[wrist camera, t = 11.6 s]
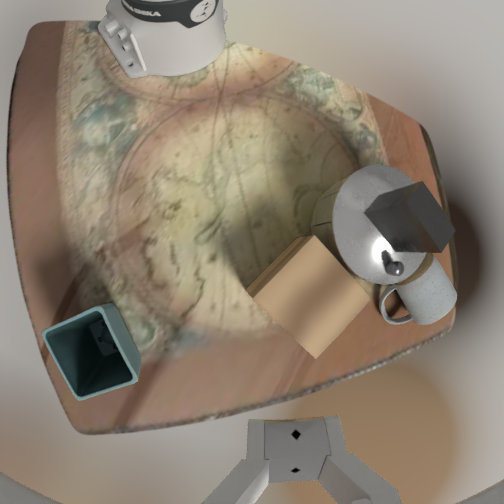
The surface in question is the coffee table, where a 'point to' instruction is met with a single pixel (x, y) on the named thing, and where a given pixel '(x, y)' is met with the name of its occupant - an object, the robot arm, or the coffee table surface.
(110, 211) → the coffee table surface
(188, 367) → the coffee table surface
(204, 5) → the robot arm
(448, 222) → the lid
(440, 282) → the ceramic mug
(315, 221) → the pot
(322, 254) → the tan block
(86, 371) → the flower pot
